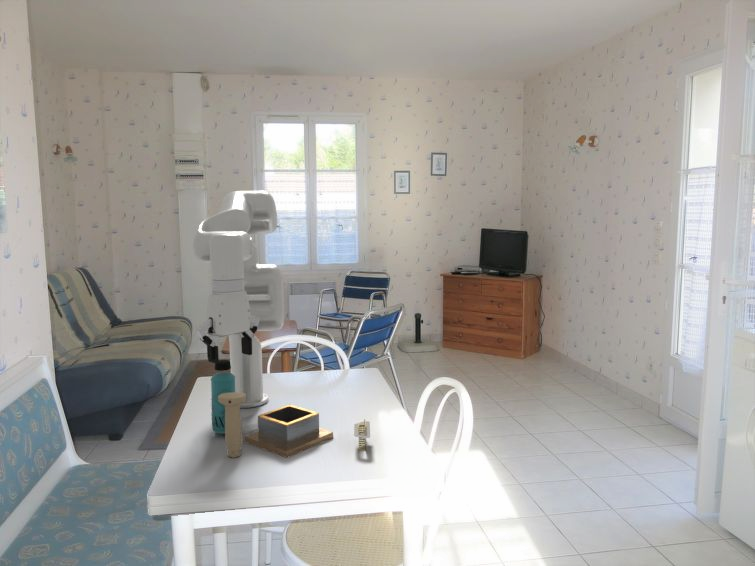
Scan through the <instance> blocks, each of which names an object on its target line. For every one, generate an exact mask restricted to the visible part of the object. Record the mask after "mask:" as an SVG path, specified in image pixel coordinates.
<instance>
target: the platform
mask: <svg viewBox="0 0 755 566" xmlns="http://www.w3.org/2000/svg"><path fill="white" fill-rule="evenodd" d="M370 424H371V422H370V421H369V420H368V421H367V420H366V418H364V419H363V421H360V419H358V423H355V424H354V427H353V428H354V429H353V430H354V431H353V432H354V437H356V438H358V451H366V449H367V439H370V438H371V426H370Z"/></svg>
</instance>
